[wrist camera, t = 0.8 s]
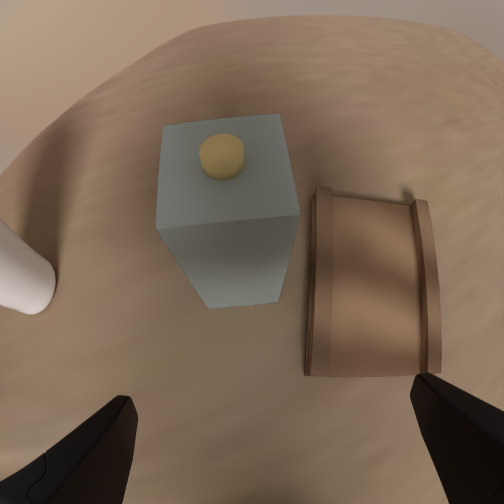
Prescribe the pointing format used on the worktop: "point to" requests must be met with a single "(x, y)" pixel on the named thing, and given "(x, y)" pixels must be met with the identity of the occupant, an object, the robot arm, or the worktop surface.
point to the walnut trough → (372, 289)
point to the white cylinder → (23, 275)
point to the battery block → (228, 207)
